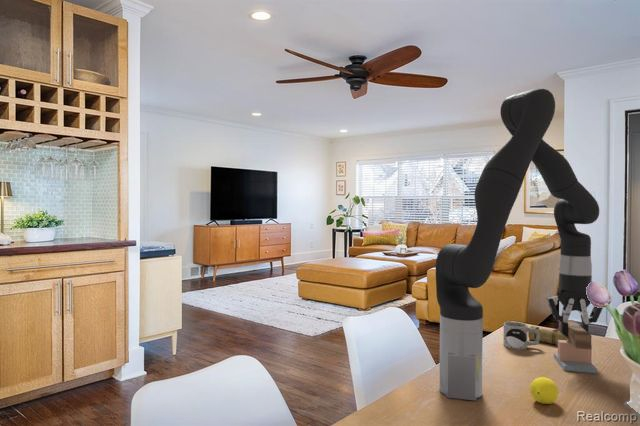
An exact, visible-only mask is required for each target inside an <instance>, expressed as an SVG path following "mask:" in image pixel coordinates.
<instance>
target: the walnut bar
mask: <svg viewBox="0 0 640 426" xmlns="http://www.w3.org/2000/svg"><path fill="white" fill-rule="evenodd" d="M567 323H568V337H565V336H564V335H563V334H562V333H561V321H559V328H560V333H561V334H562V335H563V336H564V337H565V338H566V339H567V341H569V342H570V343H571V344H572V345H573V346H574V347H575V348H578V349H591V345H592V334H591V333H589V331H588V332H587V331H586V330H584V329H583V328H582V327H581V326H580V324H579V323H577V322H576V321H575V320H572V319H568V322H567Z"/></svg>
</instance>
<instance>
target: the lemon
mask: <svg viewBox="0 0 640 426" xmlns="http://www.w3.org/2000/svg"><path fill="white" fill-rule="evenodd" d="M529 390H530V394H531V397H532V398H533V399H534V400H535V401H536V402H538V403H539V404H542V405H544V404H545V405H547V404H549V405H550V404H553V403H554V402H556V401H557V400H558V399H557V398H558V396H559V389H558V386H557V385H556V383H555V381H553V380H552V379H551V378H549V377H545V376H540V377H536V378H535V379H533V381H532V382H531V383H530V386H529Z"/></svg>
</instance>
